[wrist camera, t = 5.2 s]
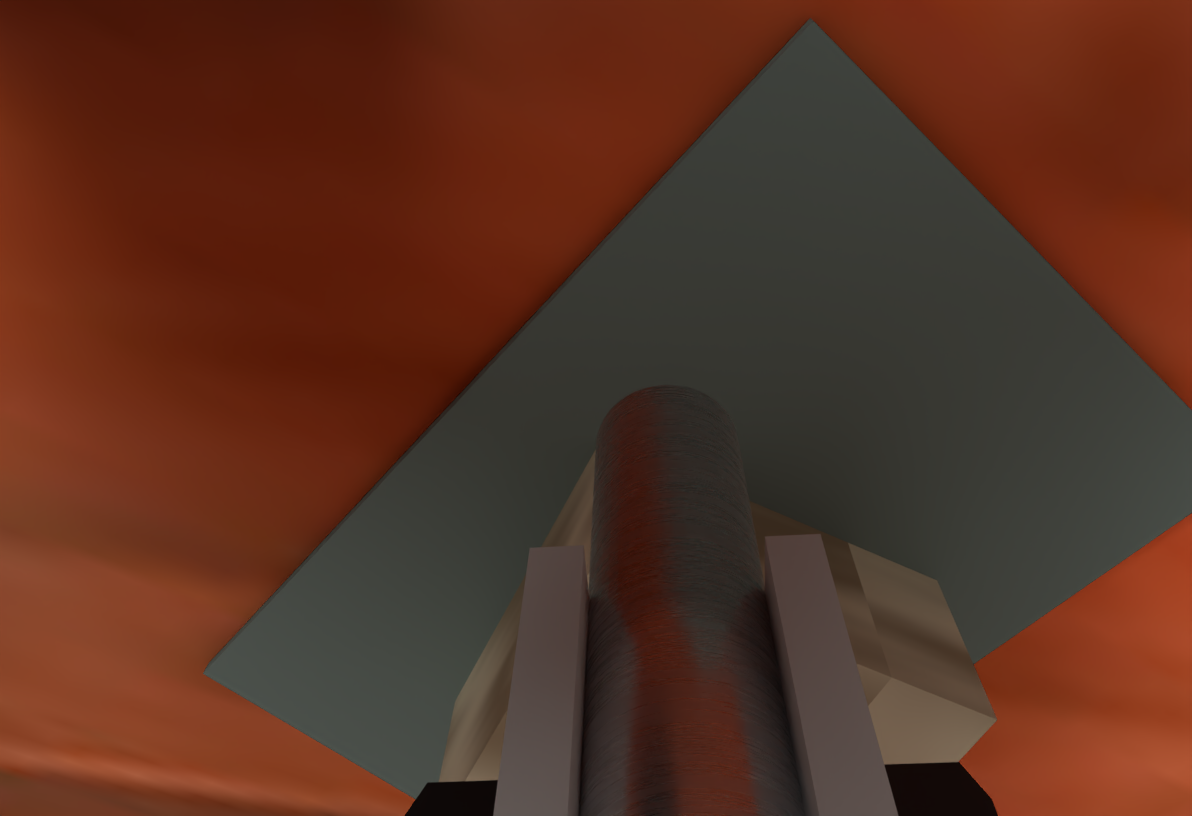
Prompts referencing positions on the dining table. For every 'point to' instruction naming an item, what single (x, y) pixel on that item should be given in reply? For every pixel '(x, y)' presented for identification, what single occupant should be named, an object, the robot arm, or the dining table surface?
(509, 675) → the wooden square socket block
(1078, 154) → the dining table surface
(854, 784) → the robot arm
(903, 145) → the felt mat
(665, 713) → the metal peg
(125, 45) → the dining table surface
